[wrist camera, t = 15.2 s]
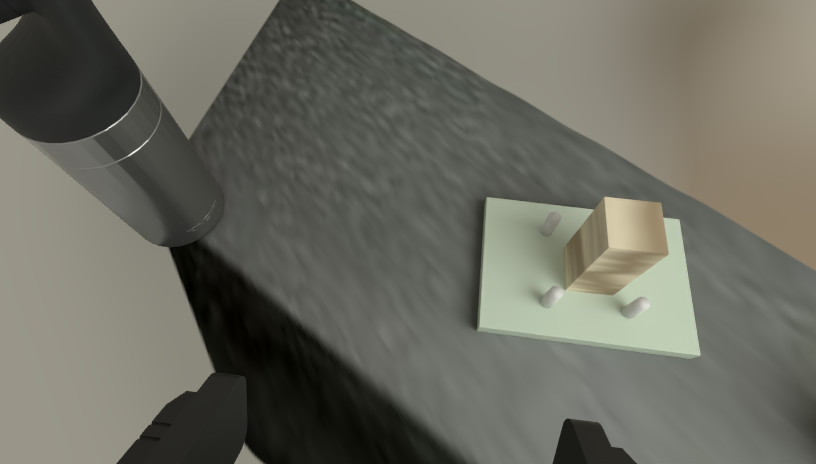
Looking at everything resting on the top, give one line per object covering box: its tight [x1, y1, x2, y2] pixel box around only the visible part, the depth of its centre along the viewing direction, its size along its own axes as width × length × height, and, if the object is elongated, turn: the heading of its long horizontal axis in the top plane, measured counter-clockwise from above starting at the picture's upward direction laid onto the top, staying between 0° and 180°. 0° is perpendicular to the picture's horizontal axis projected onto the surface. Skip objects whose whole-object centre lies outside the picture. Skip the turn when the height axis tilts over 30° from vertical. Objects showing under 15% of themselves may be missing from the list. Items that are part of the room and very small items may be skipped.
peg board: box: [477, 197, 700, 359], centre depth 43 cm, size 20×14×4 cm
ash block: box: [564, 197, 669, 296], centre depth 39 cm, size 4×4×10 cm
